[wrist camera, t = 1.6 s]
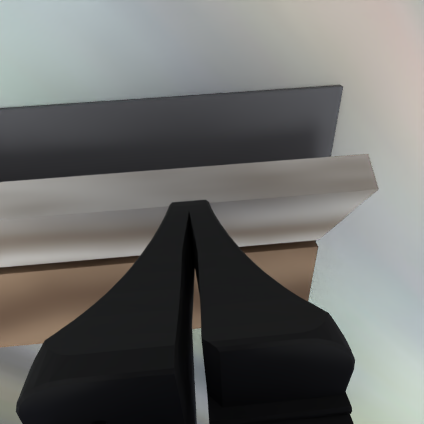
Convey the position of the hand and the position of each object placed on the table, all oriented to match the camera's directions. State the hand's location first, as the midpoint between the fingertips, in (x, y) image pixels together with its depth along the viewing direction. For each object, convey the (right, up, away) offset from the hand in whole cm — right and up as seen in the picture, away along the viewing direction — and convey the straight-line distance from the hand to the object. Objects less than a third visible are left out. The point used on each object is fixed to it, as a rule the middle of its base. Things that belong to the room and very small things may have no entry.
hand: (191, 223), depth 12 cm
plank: (-4, +1, +3) cm, 5 cm away
